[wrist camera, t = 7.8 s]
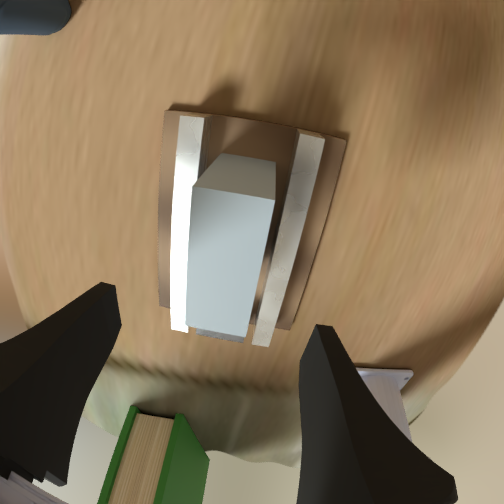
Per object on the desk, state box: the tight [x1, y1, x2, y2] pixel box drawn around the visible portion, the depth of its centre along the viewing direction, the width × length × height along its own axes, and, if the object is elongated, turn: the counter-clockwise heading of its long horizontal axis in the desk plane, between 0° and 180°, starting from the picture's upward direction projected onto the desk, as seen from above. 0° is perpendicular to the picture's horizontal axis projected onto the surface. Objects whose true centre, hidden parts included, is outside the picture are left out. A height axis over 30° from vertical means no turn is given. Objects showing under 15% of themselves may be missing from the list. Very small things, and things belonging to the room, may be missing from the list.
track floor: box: [158, 110, 347, 330], centre depth 18 cm, size 14×10×1 cm
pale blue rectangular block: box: [185, 153, 276, 337], centre depth 15 cm, size 7×3×6 cm, turn 171°
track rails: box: [171, 113, 325, 347], centre depth 17 cm, size 14×7×2 cm, turn 171°
